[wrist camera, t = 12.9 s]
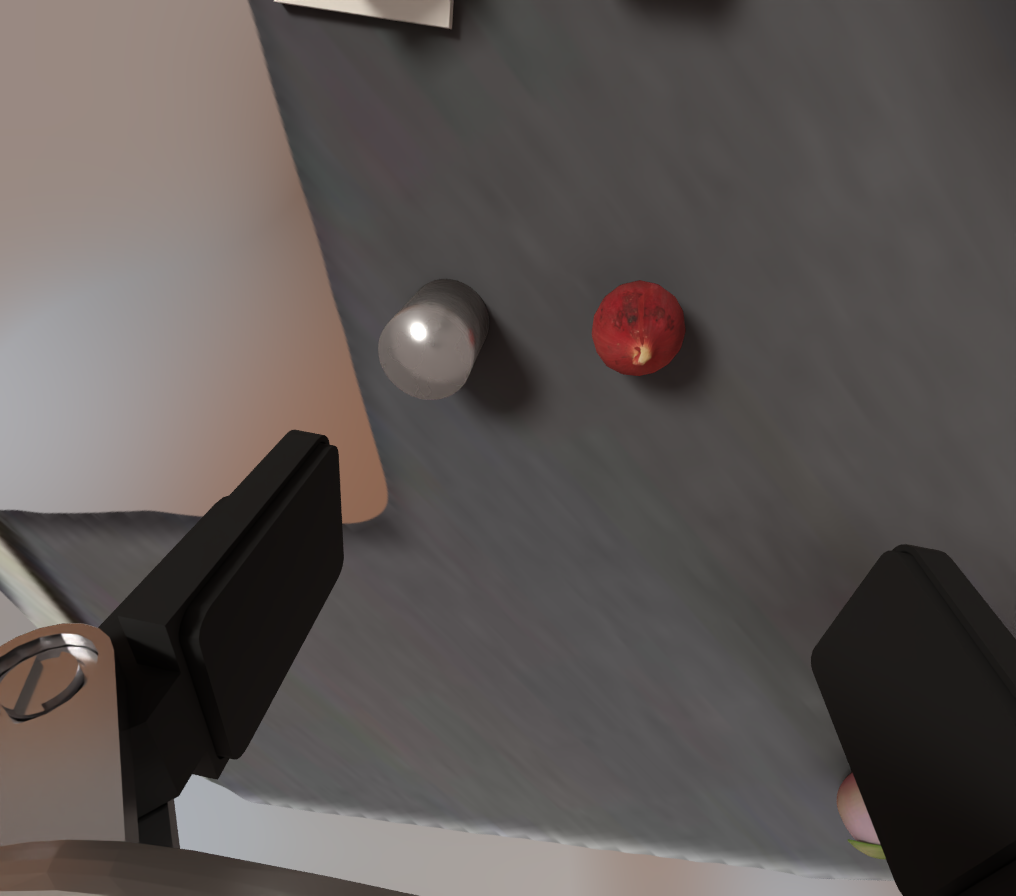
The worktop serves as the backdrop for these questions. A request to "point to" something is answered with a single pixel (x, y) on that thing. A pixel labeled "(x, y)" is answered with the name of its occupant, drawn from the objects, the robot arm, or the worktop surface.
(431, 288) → the tin
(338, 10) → the plate
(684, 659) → the worktop surface
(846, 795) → the decorative fruit
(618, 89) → the worktop surface
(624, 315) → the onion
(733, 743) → the worktop surface
